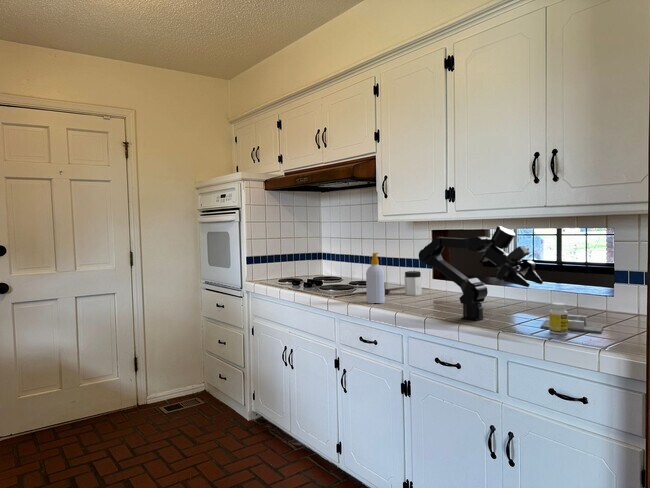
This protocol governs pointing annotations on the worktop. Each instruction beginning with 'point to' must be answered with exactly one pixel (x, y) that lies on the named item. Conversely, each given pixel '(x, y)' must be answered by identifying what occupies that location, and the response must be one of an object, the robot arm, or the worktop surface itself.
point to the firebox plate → (578, 325)
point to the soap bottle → (375, 282)
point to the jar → (413, 283)
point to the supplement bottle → (558, 319)
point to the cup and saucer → (386, 289)
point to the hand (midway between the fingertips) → (535, 284)
